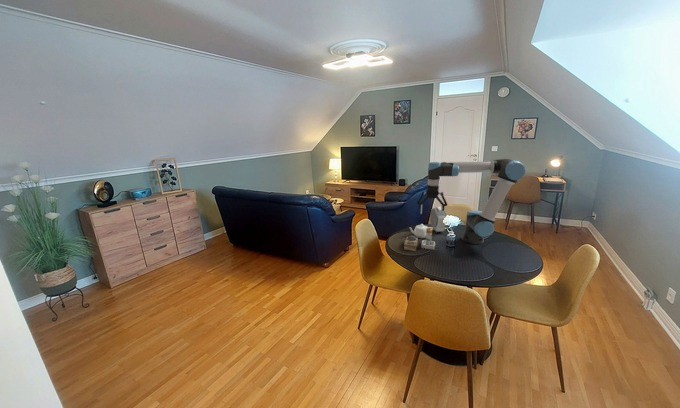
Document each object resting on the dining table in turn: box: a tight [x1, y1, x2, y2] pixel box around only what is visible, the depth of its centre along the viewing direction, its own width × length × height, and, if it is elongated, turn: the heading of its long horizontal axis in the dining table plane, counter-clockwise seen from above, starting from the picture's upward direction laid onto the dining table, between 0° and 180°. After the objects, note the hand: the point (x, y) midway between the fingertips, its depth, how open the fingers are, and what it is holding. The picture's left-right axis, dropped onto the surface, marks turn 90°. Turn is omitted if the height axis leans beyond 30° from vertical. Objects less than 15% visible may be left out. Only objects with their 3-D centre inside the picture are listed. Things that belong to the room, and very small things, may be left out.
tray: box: [420, 239, 436, 251], centre depth 201 cm, size 9×9×2 cm
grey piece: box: [429, 206, 448, 233], centre depth 228 cm, size 18×8×20 cm, turn 179°
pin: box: [425, 228, 434, 246], centre depth 199 cm, size 4×4×13 cm
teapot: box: [409, 223, 433, 239], centre depth 219 cm, size 20×12×10 cm, turn 96°
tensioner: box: [403, 235, 419, 252], centre depth 201 cm, size 14×8×7 cm, turn 159°
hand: (431, 214), depth 194 cm, fingers open, 13 cm apart
